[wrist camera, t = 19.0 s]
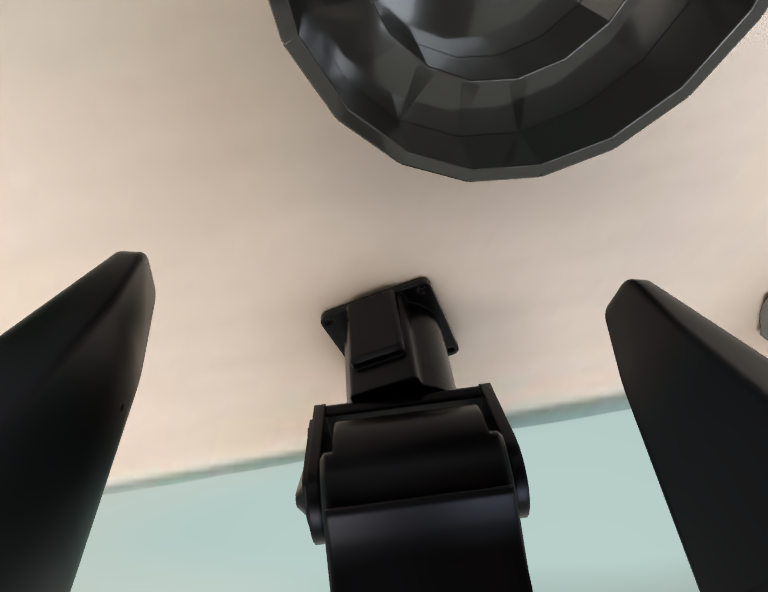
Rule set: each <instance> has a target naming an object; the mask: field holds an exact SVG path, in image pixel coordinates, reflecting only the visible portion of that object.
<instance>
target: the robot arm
mask: <svg viewBox="0 0 768 592" xmlns="http://www.w3.org/2000/svg"><path fill="white" fill-rule="evenodd" d="M421 286H424V288H419V287H421ZM154 304H155V286H154V282H153V277H152V273H151V269H150V265H149V261H148V258H147V256H146V255H145V254H144V253H142V252H128V251H120V252H117V253H115V254H114V255H112V256H111V257H109V258H108V259H107V260H105V261H104V262H103V263H101V264H100V265H98V266H97V267H96V268H94V269H93V270H91V271H90V272H89V273H87V274H86V275H84V276H83V277H82V278H80V279H79V280H77V281H76V282H75V283H73V284H72V285H70V286H69V287H68V288H66V289H65V290H63V291H62V292H61V293H59V294H58V295H56V296H55V297H54V298H52V299H51V300H49V301H48V302H47V303H45V304H44V305H42V306H41V307H40V308H38V309H37V310H35V311H34V312H33V313H31V314H30V315H28V316H27V317H26V318H24V319H23V320H22V321H20V322H19V323H17V324H16V325H15V326H13V327H12V328H10V329H9V330H8V331H6V332H5V333H3V334H2V335H1V336H0V592H70V591H71V588H72V585H73V582H74V579H75V576H76V573H77V570H78V567H79V564H80V561H81V558H82V554H83V552H84V548H85V545H86V542H87V539H88V536H89V533H90V530H91V527H92V524H93V521H94V518H95V515H96V512H97V509H98V506H99V503H100V500H101V497H102V494H103V491H104V488H105V485H106V482H107V479H108V476H109V473H110V469H111V466H112V463H113V460H114V457H115V454H116V451H117V448H118V445H119V442H120V439H121V436H122V433H123V430H124V427H125V424H126V421H127V418H128V415H129V412H130V409H131V406H132V403H133V400H134V397H135V393H136V390H137V387H138V384H139V380H140V377H141V372H142V367H143V362H144V357H145V352H146V346H147V341H148V336H149V330H150V325H151V320H152V314H153V309H154ZM328 319H332V320H330V321H329V320H328ZM605 319H606V323H607V327H608V331H609V335H610V339H611V343H612V346H613V350H614V354H615V358H616V362H617V366H618V370H619V374H620V377H621V381H622V384H623V387H624V390H625V393H626V396H627V398H628V401H629V404H630V406H631V409H632V412H633V414H634V417H635V420H636V422H637V425H638V428H639V430H640V433H641V435H642V438H643V441H644V444H645V446H646V449H647V452H648V454H649V457H650V460H651V462H652V465H653V468H654V470H655V473H656V476H657V478H658V481H659V484H660V486H661V489H662V492H663V494H664V497H665V500H666V503H667V505H668V508H669V510H670V513H671V516H672V518H673V521H674V524H675V526H676V529H677V532H678V534H679V537H680V540H681V543H682V545H683V548H684V551H685V553H686V556H687V559H688V561H689V564H690V566H691V569H692V572H693V574H694V577H695V580H696V583H697V585H698V588H699V591H700V592H768V358H766V357H765V356H763V355H762V354H760V353H759V352H757V351H756V350H754V349H753V348H751V347H749V346H748V345H746V344H745V343H743V342H742V341H740V340H739V339H737V338H736V337H734V336H733V335H731V334H730V333H728V332H727V331H725V330H724V329H722V328H720V327H719V326H717V325H716V324H714V323H713V322H711V321H710V320H708V319H707V318H705V317H704V316H702V315H701V314H699V313H698V312H696V311H695V310H693V309H691V308H690V307H688V306H687V305H685V304H684V303H682V302H681V301H679V300H678V299H676V298H675V297H673V296H672V295H670V294H669V293H667V292H666V291H664V290H662V289H661V288H659V287H658V286H656V285H655V284H653V283H652V282H650V281H647V280H637V279H630V280H627V281H625V282H624V283H623V284H622V285H621V287H620V288H619V290H618V291H617V293H616V294H615V296H614V297H613V299H612V300H611V302H610V303H609V305H608V306H607V309H606V313H605ZM321 324H322V326H323V328H324V329H325V330H326V332H327V333H328V334H329V336H330V337H331V339H332V340H333V341H334V343H335V344H336V345H337V347H338V348H339V350H340V351H341V352H342V354H343V355H344V356H345V367H346V390H347V403H344V404H337V405H329V406H326V404H322V405H315V406H314V412H313V419H312V420H310V424H309V428H308V439H307V446H306V453H305V461H304V468H303V472H302V476H301V479H300V482H299V485H298V488H297V492H296V505H297V507H298V508H299V509H300V510H301V511H302V512H303V513H304V514H305V515H306V517H307V521H308V524H309V527H310V532H311V536H312V539H313V542H314V543H315V545H320V544H326V553H327V562H328V573H329V581H330V592H533V590H532V585H531V580H530V576H529V571H528V565H527V559H526V553H525V547H524V540H523V535H522V528H521V521H520V518H525V517H528V515H529V510H530V497H529V487H528V480H527V475H526V470H525V466H524V462H523V457H522V454H521V451H520V448H519V445H518V442H517V440H516V437H515V435H514V433H513V431H512V429H511V426H510V424H509V422H508V420H507V418H506V416H505V414H504V412H503V410H502V407H501V405H500V403H499V401H498V399H497V397H496V395H495V393H494V391H493V388H492V386H491V384H490V383H485V384H479V386H476V387H468V388H460V389H456V387H455V383H454V378H453V374H452V370H451V366H450V362H449V358H448V356H450V355H453V354H455V353H456V352H457V351H458V344H457V341H456V339H455V337H454V335H453V332H452V330H451V328H450V326H449V323H448V321H447V319H446V317H445V315H444V312H443V310H442V308H441V306H440V303H439V301H438V299H437V297H436V294H435V292H434V290H433V288H432V286H431V283H430V281H429V280H428V279H426V278H419V279H416V280H413V281H410V282H408V283H405V284H402V285H399V286H396V287H394V288H391V289H388V290H385V291H382V292H380V293H377V294H374V295H371V296H368V297H366V298H363V299H360V300H357V301H354V302H352V303H349V304H346V305H343V306H340V307H338V308H335V309H332V310H329V311H326V312H324V313H323V314H322V315H321ZM449 347H450V348H449Z"/></svg>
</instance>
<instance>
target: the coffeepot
mask: <svg viewBox="0 0 768 592" xmlns="http://www.w3.org/2000/svg"><path fill="white" fill-rule="evenodd" d="M760 324H761V330H760V335H761V336H763V337H764V338H765V339H767V340H768V297H767V299H766V301H765V302H764V304H763V306H762V309H761V312H760Z"/></svg>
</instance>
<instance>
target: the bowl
mask: <svg viewBox="0 0 768 592" xmlns="http://www.w3.org/2000/svg"><path fill="white" fill-rule="evenodd" d="M268 1H269V4H270V7H271V10H272V13H273V16H274V19H275V23H276V26H277V29H278V32H279V35H280V38H281V41H282V42H283V44H284V47H285V48H286V49H287V51H288V52H289V54H290V55H291V56H292V58H293V59H294V61H295V62H296V63H297V65H298V66H299V68H300V69H301V70H302V72H303V73H304V75H305V76H306V77H307V79H308V80H309V82H310V83H311V84H312V86H313V87H314V89H315V90H316V91H317V93H318V94H319V96H320V97H321V99H322V100H323V101H324V103H325V104H326V106H327V107H328V108H329V110H330V111H331V113H332V114H333V115H334V117H335V118H336V119H337V120H338V121H339V122H341V123H342V124H344V125H345V126H347V127H348V128H349V129H351V130H352V131H354V132H355V133H357V134H358V135H359V136H361V137H362V138H364V139H365V140H367V141H368V142H369V143H371V144H372V145H374V146H375V147H376V148H378V149H379V150H381V151H382V152H384V153H385V154H386V155H388V156H389V157H391V158H392V159H394V160H395V161H396V162H398V163H401V164H402V165H406V166H410V167H413V168H417V169H421V170H425V171H429V172H432V173H436V174H440V175H444V176H447V177H451V178H455V179H459V180H462V181H466V182H468V181H469V182H478V181H492V180H506V179H520V178H533V177H540V176H541V177H542V176H545V175H548V174H550V173H553V172H555V171H558V170H561V169H563V168H566V167H569V166H571V165H574V164H577V163H579V162H582V161H584V160H587V159H590V158H592V157H595V156H598V155H600V154H603V153H605V152H608V151H611V150H613V149H614V148H617V147H618V146H619V145H621V144H622V143H624V142H625V141H627V140H628V139H629V138H631V137H632V136H634V135H635V134H637V133H638V132H639V131H641V130H642V129H644V128H645V127H647V126H648V125H649V124H651V123H652V122H654V121H655V120H656V119H658V118H659V117H661V116H662V115H664V114H665V113H666V112H668V111H669V110H671V109H672V108H674V107H675V106H676V105H678V104H679V103H681V102H682V101H684V100H685V99H686V98H688V97H689V95H691V94H692V93H693V92H694V91H695V90H696V89H697V88H698V86H699V85H700V84H701V83H702V82H703V81H704V80H705V79H706V78H707V77H708V76H709V74H710V73H711V72H712V71H713V70H714V69H715V68H716V67H717V66H718V65H719V63H720V62H721V61H722V60H723V59H724V58H725V57H726V56H727V55H728V54H729V53H730V51H731V50H732V49H733V48H734V47H735V46H736V45H737V44H738V43H739V42H740V40H741V39H742V38H743V37H744V36H745V35H746V34H747V33H748V32H749V31H750V30H751V28H752V27H753V26H754V25H755V24H756V23H757V22H758V21H759V20H760V19H761V17H762V16H761V15H763V14H764V13H765V12H766V10H767V8H768V0H268Z"/></svg>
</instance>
